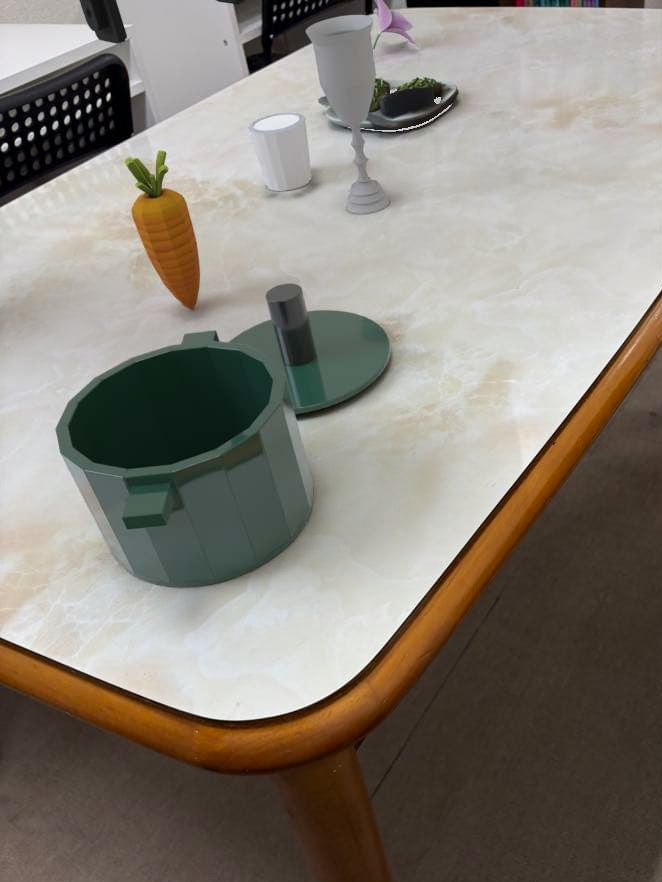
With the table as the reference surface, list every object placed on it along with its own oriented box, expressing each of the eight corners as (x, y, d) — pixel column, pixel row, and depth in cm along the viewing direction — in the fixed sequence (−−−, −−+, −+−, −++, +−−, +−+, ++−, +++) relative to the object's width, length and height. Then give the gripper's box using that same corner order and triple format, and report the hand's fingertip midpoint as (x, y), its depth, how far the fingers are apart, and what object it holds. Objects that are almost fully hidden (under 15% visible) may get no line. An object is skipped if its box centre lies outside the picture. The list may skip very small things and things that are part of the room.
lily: (413, 69, 136) (431, 1, 132) (341, 45, 134) (358, -25, 130) (413, 74, 147) (430, 11, 143) (347, 51, 145) (362, -13, 141)
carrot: (211, 291, 86) (164, 137, 76) (221, 312, 83) (173, 153, 72) (163, 305, 85) (109, 151, 75) (171, 327, 82) (115, 168, 72)
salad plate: (289, 132, 118) (281, 97, 115) (357, 89, 129) (352, 55, 126) (409, 141, 110) (405, 103, 107) (472, 94, 120) (469, 58, 117)
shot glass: (276, 170, 109) (263, 111, 104) (325, 170, 106) (314, 110, 102) (252, 192, 104) (237, 132, 99) (302, 193, 102) (289, 132, 97)
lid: (199, 431, 69) (171, 354, 64) (226, 331, 80) (204, 260, 75) (391, 410, 67) (378, 330, 63) (391, 311, 79) (380, 237, 74)
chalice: (351, 190, 101) (322, 16, 88) (405, 191, 99) (383, 12, 86) (328, 217, 96) (294, 38, 83) (385, 218, 94) (358, 34, 81)
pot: (77, 628, 54) (11, 518, 48) (143, 438, 69) (100, 334, 62) (302, 607, 53) (266, 492, 47) (321, 418, 68) (296, 311, 61)
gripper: (174, -334, 53) (242, -15, 65) (-97, -304, 46) (36, 50, 58) (243, -353, 49) (303, -8, 61) (-44, -324, 41) (88, 64, 53)
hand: (173, 20), depth 59 cm, fingers open, 9 cm apart
